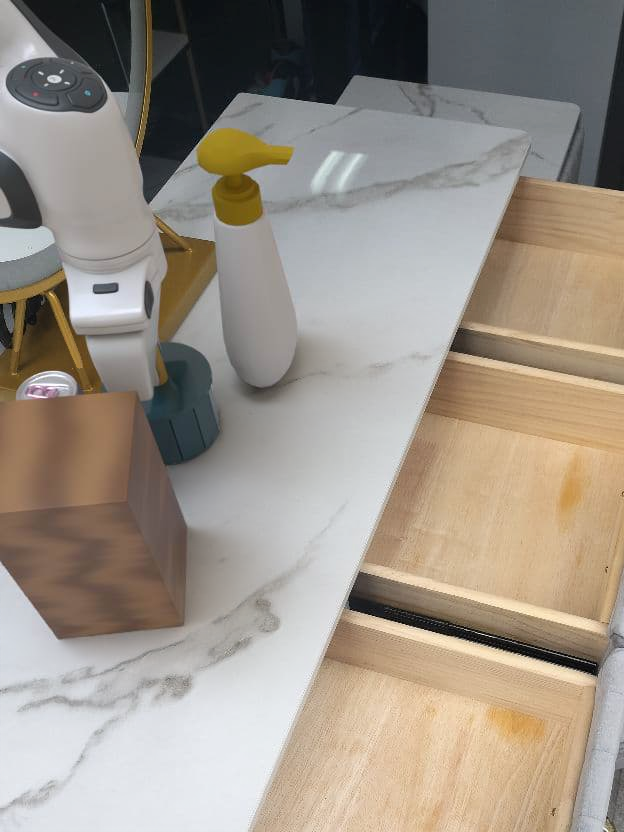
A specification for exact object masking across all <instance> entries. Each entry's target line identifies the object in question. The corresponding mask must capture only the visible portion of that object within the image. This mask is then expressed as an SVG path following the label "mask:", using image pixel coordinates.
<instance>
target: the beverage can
mask: <svg viewBox="0 0 624 832" xmlns="http://www.w3.org/2000/svg"><path fill="white" fill-rule="evenodd" d="M73 395H85V393H84V390H83V389H82V387H81V386H80V384H78V382H77V381H76V378H74V377H73V376H72V375H71V374H69V373H67V372H64V371H62V370H61V371H60V370H46V371H42V372H39V373H36V374H33V375H32V376H30V377H28V378H26V380H24V381H23V382H22V383H21V384H20V385H19V387H18V388H17V391H16V394H15V400H25V399H37V398H49V397H61V396H73Z"/></svg>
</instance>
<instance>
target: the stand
mask: <svg viewBox="0 0 624 832" xmlns="http://www.w3.org/2000/svg"><path fill="white" fill-rule="evenodd" d="M168 473H169V472H168V471H167V468H166V465H164V463H163V460H162V457H161V455H160V452H159V449H158V446H157V444H156V441H155V438H154V436H153V433H152V430H151V428H150V425H149V422H148V420H147V417H146V414H145V411H144V409H143V406H142V403H141V401H140V398H139V395H138V393H137V390H133V391H121V392H109V393H102V392H98V393H87V394H85V393H84V395H73V396H61V397H49V398H37V399H25V400H16V399H14V400H13V399H12V400H3V401H2V400H1V401H0V563H1V565H2V566H3V567H4V568H5V570H6V571H7V573H8V574H9V576H10V577H11V578H12V579H13V581H14V582H15V584H16V585H17V587H18V588H19V589H20V590H21V592H23V594H24V596H25V597H26V598H27V600H28V601H29V603H30V604H31V605H32V606H33V608H34V609H35V611H36V612H37V613H38V615H39V616H40V617H41V619H42V620H43V621H44V623H45V624H46V625H47V627H48V628H49V629H50V631H51V632H52V633H53V634H54V636H55V637H56V639H58V640H61V639H70V638H78V637H79V638H80V637H88V636H89V637H90V636H97V635H108V634H117V633H128V632H136V631H137V632H138V631H146V630H147V631H148V630H156V629H166V628H174V627H175V628H176V627H183V626H184V625H185V599H186V576H187V575H186V574H187V573H186V572H187V570H186V569H187V547H188V546H187V544H188V543H187V541H188V524H187V521H186V519H185V516H184V514H183V511H182V508H181V506H180V503H179V500H178V497H177V495H176V492H175V490H174V487H173V484H172V481H171V479H170V476H169V474H168Z"/></svg>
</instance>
